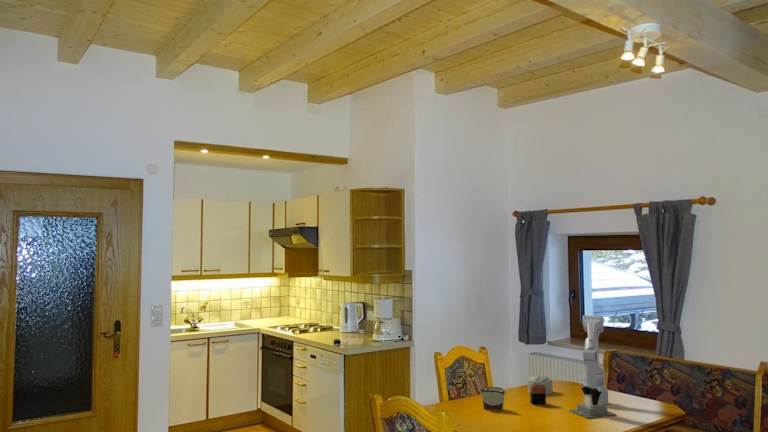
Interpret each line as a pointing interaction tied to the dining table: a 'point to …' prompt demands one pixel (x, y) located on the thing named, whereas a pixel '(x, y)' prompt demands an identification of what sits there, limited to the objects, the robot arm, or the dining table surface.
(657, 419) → the dining table surface
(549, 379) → the lumpy-topped squat cylinder
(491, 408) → the food container
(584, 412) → the socket dock
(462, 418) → the dining table surface
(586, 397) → the plug
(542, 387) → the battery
